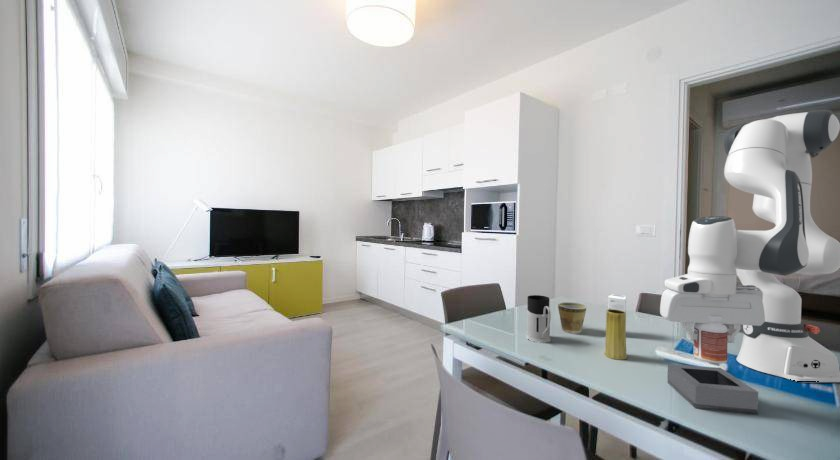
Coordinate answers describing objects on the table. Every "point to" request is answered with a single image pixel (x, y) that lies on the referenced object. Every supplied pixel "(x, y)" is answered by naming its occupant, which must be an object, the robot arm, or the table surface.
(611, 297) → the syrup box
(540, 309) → the glass holder
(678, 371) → the metal socket
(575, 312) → the ceramic cup
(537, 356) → the table surface
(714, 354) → the pill bottle
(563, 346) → the table surface
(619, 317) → the vase
